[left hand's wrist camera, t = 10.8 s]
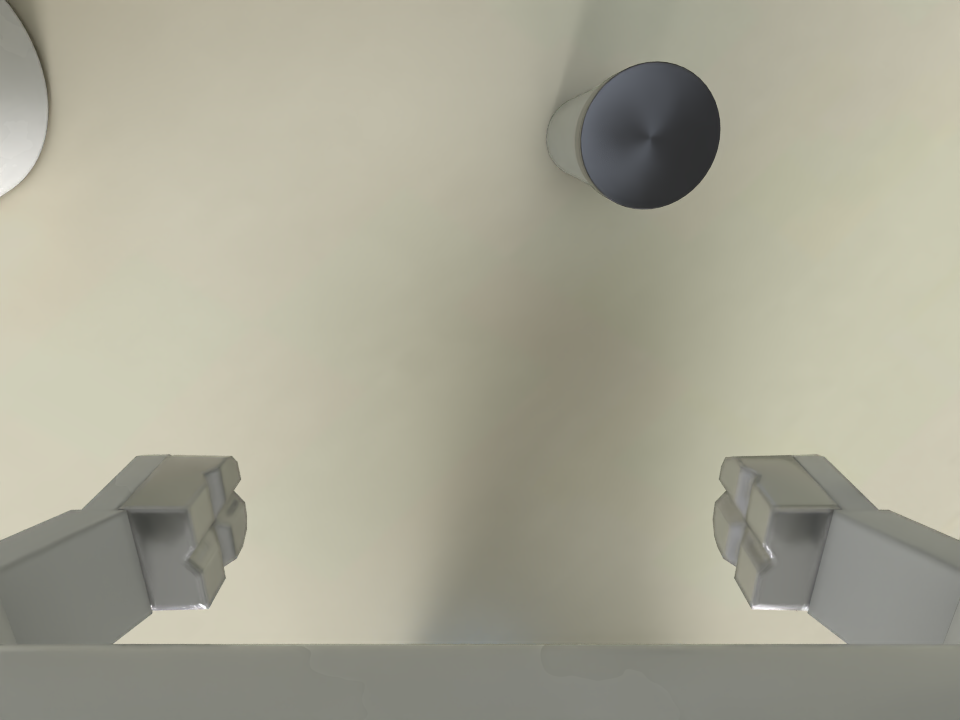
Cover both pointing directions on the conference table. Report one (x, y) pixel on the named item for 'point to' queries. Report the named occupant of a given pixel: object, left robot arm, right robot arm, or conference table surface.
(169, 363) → the conference table surface
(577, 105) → the blue-grey cylinder
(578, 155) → the lid
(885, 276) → the conference table surface
